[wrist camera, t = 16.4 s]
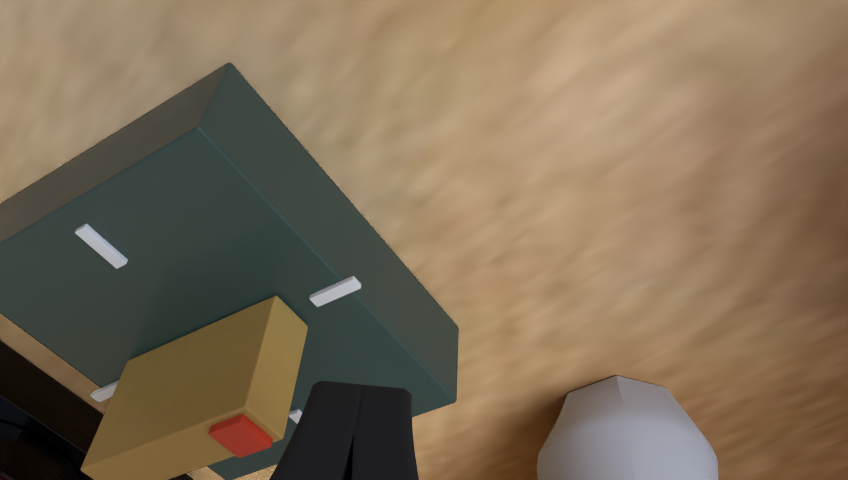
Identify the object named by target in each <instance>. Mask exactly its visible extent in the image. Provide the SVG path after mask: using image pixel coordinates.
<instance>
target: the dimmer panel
mask: <svg viewBox="0 0 848 480" xmlns="http://www.w3.org/2000/svg"><path fill="white" fill-rule="evenodd" d="M273 296H278V297H279V298H280V299H281V300H282V301H283V302H284V303H285V304H286V305H287V306H288V307H289V308H290V309H291V310H292V311H293V312H294V313H295V314H296V315H297V316H298V317H299V318H300V319H301V320H302V321H303V322H304V323H305V324H306V325H307V326H308V330H307V335H306V339H305V344H304V348H303V353H302V357H301V362H300V366H299V371H298V375H297V380H296V384H295V389H294V393H293V398H292V402H291V407H290V411H289V416H288V420H287V425H286V429H285V434H284V437H283V439H281V440H278V441H276V442H273V443H272V446H271V447H270V448H267V449H264V450H261V451H259V452H256V453H253V454H250V455H247V456H244V457H241V458H238V457H237V456H233V457H230V458H228V459H225V460H222V461H219V462H216V463H213V464H211V465H208V466H207V467H209V468H210V469H211V470H213V471H214V472H215V473H217V474H218V475H220V476H221V477H222V478H224V479H225V480H233V479H236V478H239V477H242V476H245V475H247V474H250V473H253V472H256V471H259V470H262V469H265V468H268V467H270V466H273V465H276V464H278V463H279V461H280V459H281V457H282V455H283V453H284V451H285V449H286V447H287V445H288V443H289V441H290V439H291V437H292V435H293V433H294V431H295V428H296V426H297V424H298V422H299V419H300V417H301V415H302V412H303V410H304V407H305V405H306V402H307V400H308V397H309V394H310V391H311V388H312V385H313V384H315V383H317V382H319V381H331V382H341V383H352V384H362V385H373V386H383V387H394V388H405V389H406V390H407V391H408V392H410V393H411V394H412V403H411V412H412V417H414V416H417V415H420V414H423V413H426V412H429V411H432V410H435V409H437V408H440V407H443V406H446V405H449V404H452V403H455V402H456V400H457V366H458V331H459V329H458V326H457V325H456V324H455V323H454V321H453V320H452V319H451V318H450V317H449V316H448V315H447V313H446V312H445V311H444V310H443V309H442V308H441V306H440V305H439V304H438V303H437V302H436V301H435V299H434V298H433V297H432V296H431V295H430V294H429V292H428V291H427V290H426V289H425V288H424V287H423V285H422V284H421V283H420V282H419V281H418V280H417V278H416V277H415V276H414V275H413V274H412V273H411V271H410V270H409V269H408V268H407V267H406V266H405V265H404V263H403V262H402V261H401V260H400V259H399V258H398V256H397V255H396V254H395V253H394V252H393V251H392V249H391V248H390V247H389V246H388V245H387V244H386V242H385V241H384V240H383V239H382V238H381V237H380V235H379V234H378V233H377V232H376V231H375V230H374V228H373V227H372V226H371V225H370V224H369V223H368V221H367V220H366V219H365V218H364V217H363V216H362V215H361V213H360V212H359V211H358V210H357V209H356V208H355V206H354V205H353V204H352V203H351V202H350V201H349V199H348V198H347V197H346V196H345V195H344V194H343V192H342V191H341V190H340V189H339V188H338V187H337V185H336V184H335V183H334V182H333V181H332V180H331V178H330V177H329V176H328V175H327V174H326V173H325V171H324V170H323V169H322V168H321V167H320V166H319V164H318V163H317V162H316V161H315V160H314V159H313V158H312V156H311V155H310V154H309V153H308V152H307V151H306V149H305V148H304V147H303V146H302V145H301V144H300V142H299V141H298V140H297V139H296V138H295V137H294V135H293V134H292V133H291V132H290V131H289V130H288V128H287V127H286V126H285V125H284V124H283V123H282V121H281V120H280V119H279V118H278V117H277V116H276V114H275V113H274V112H273V111H272V110H271V109H270V108H269V106H268V105H267V104H266V103H265V102H264V101H263V99H262V98H261V97H260V96H259V95H258V94H257V92H256V91H255V90H254V89H253V88H252V87H251V85H250V84H249V83H248V82H247V81H246V80H245V78H244V77H243V76H242V75H241V74H240V73H239V71H238V70H237V69H236V68H235V67H234V66H233V64H231V63H228V64H226V65H224V66H222V67H221V68H219V69H218V70H216V71H214V72H213V73H211V74H210V75H208V76H206V77H205V78H203V79H201V80H200V81H198V82H197V83H195V84H193V85H192V86H190V87H189V88H187V89H185V90H184V91H182V92H181V93H179V94H177V95H176V96H174V97H172V98H171V99H169V100H168V101H166V102H164V103H163V104H161V105H160V106H158V107H156V108H155V109H153V110H151V111H150V112H148V113H147V114H145V115H143V116H142V117H140V118H139V119H137V120H135V121H134V122H132V123H131V124H129V125H127V126H126V127H124V128H122V129H121V130H119V131H118V132H116V133H114V134H113V135H111V136H110V137H108V138H106V139H105V140H103V141H101V142H100V143H98V144H97V145H95V146H93V147H92V148H90V149H89V150H87V151H85V152H84V153H82V154H80V155H79V156H77V157H76V158H74V159H72V160H71V161H69V162H68V163H66V164H64V165H63V166H61V167H60V168H58V169H56V170H55V171H53V172H51V173H50V174H48V175H47V176H45V177H43V178H42V179H40V180H39V181H37V182H35V183H34V184H32V185H30V186H29V187H27V188H26V189H24V190H22V191H21V192H19V193H18V194H16V195H14V196H13V197H11V198H10V199H8V200H6V201H5V202H3V203H1V204H0V313H1V314H2V315H3V316H5V317H6V318H8V319H9V320H10V321H12V322H13V323H14V324H16V325H17V326H18V327H20V328H21V329H22V330H24V331H25V332H26V333H28V334H29V335H30V336H32V337H33V338H35V339H36V340H37V341H39V342H40V343H41V344H43V345H44V346H45V347H47V348H48V349H49V350H51V351H52V352H53V353H55V354H56V355H58V356H59V357H60V358H62V359H63V360H64V361H66V362H67V363H68V364H70V365H71V366H72V367H74V368H75V369H76V370H78V371H79V372H80V373H82V374H83V375H85V376H86V377H87V378H89V379H90V380H91V381H93V382H94V383H95V384H97V385H98V386H99V387H101V388H100V389H98V390H95V391H93V392H92V393H91V395H90V397H92V398H93V399H95V400H96V401H97V402H101V401H103V400H106V399H108V398H110V397H112V395H113V393H114V391H115V388H116V386H117V384H118V382H119V379H120V377H121V375H122V372H123V370H124V368H125V366H126V363H127V362H128V361H129V360H131V359H133V358H135V357H138V356H140V355H142V354H144V353H147V352H149V351H151V350H153V349H156V348H158V347H160V346H162V345H165V344H167V343H169V342H171V341H174V340H176V339H178V338H180V337H183V336H185V335H187V334H189V333H192V332H194V331H196V330H198V329H201V328H203V327H205V326H207V325H210V324H212V323H214V322H216V321H219V320H221V319H223V318H225V317H228V316H230V315H232V314H234V313H237V312H239V311H241V310H243V309H246V308H248V307H250V306H252V305H255V304H257V303H259V302H261V301H264V300H266V299H268V298H270V297H273Z"/></svg>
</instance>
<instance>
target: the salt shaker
mask: <svg viewBox="0 0 848 480" xmlns="http://www.w3.org/2000/svg"><path fill="white" fill-rule="evenodd" d="M537 477H538V480H718V460H717V458H716V455H715V453H714V451H713V448H712V446H711V445H710V443H709V442H708V441H707V439H706V438H705V437H704V435H703V434H702V433H701V431H700V430H699V429H698V427H697V426H696V425H695V424H694V422H693V421H692V420H691V418H690V417H689V416H688V415H687V413H686V412H685V411H684V410H683V408H682V407H681V406H680V405H679V403H678V402H677V401H676V400H675V398H674V397H673V396H672V395H671V393H670V392H669V391H668V389H667V388H666V387H662V386H658V385H653V384H649V383H645V382H641V381H637V380H633V379H629V378H625V377H621V376H617V375H616V376H614V377H611V378H608V379H605V380H603V381H600V382H597V383H594V384H591V385H589V386H586V387H583V388H580V389H578V390H575V391H572V392H569V393H568V394H567V397H566V400H565V402H564V405H563V407H562V410H561V413H560V415H559V418H558V419H557V421H556V423H555V425H554V427H553V429H552V430H551V432H550V434H549V436H548V438H547V439H546V441H545V443H544V445H543V447H542V449H541V450H540V452H539V455H538V463H537Z"/></svg>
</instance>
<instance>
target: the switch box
mask: <svg viewBox="0 0 848 480" xmlns="http://www.w3.org/2000/svg"><path fill="white" fill-rule="evenodd" d="M103 416H104V415H102V414H101V413H100V412H98V411H97V410H95V409H94V408H93V407H91V406H90V405H89V404H87V403H86V402H84V401H83V400H82V399H80V398H79V397H77V396H76V395H75V394H73V393H72V392H70V391H69V390H68V389H66V388H65V387H63V386H62V385H61V384H59V383H58V382H56V381H55V380H54V379H52V378H51V377H50V376H48V375H47V374H45V373H44V372H43V371H41V370H40V369H38V368H37V367H36V366H34V365H33V364H31V363H30V362H29V361H27V360H26V359H24V358H23V357H22V356H20V355H19V354H17V353H16V352H15V351H13V350H12V349H10V348H9V347H8V346H6V345H5V344H4V343H2V342H1V341H0V480H94V479H92V478H91V477H89V476H88V475H86V474H85V473H83V472H82V471H81V466H82V464H83V462H84V460H85V457H86V455H87V453H88V450H89V448H90V446H91V443H92V441H93V439H94V437H95V434H96V432H97V430H98V427H99V425H100V423H101V421H102V418H103ZM168 480H193V479H192V478H190V477H189V476H187V475H186V474H182V475H179V476H177V477H174V478H171V479H168Z"/></svg>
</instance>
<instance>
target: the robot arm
mask: <svg viewBox="0 0 848 480" xmlns="http://www.w3.org/2000/svg"><path fill="white" fill-rule="evenodd" d="M411 403H412V394H411V393H410V392H408V391H407V390H406V389H405V388H394V387H383V386H373V385H362V384H352V383H341V382H331V381H319V382H317V383H315V384H313V385H312V388H311V391H310V394H309V397H308V400H307V402H306V405H305V407H304V410H303V412H302V415H301V417H300V419H299V422H298V424H297V426H296V428H295V431H294V433H293V435H292V437H291V439H290V441H289V443H288V445H287V447H286V449H285V451H284V453H283V455H282V457H281V459H280V461H279V463H278V465H277V467H276V469H275V471H274V473H273V474H272V476H271V478H270V480H419V478H418V472H417V465H416V459H415V451H414V442H413V432H412V412H411Z"/></svg>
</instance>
